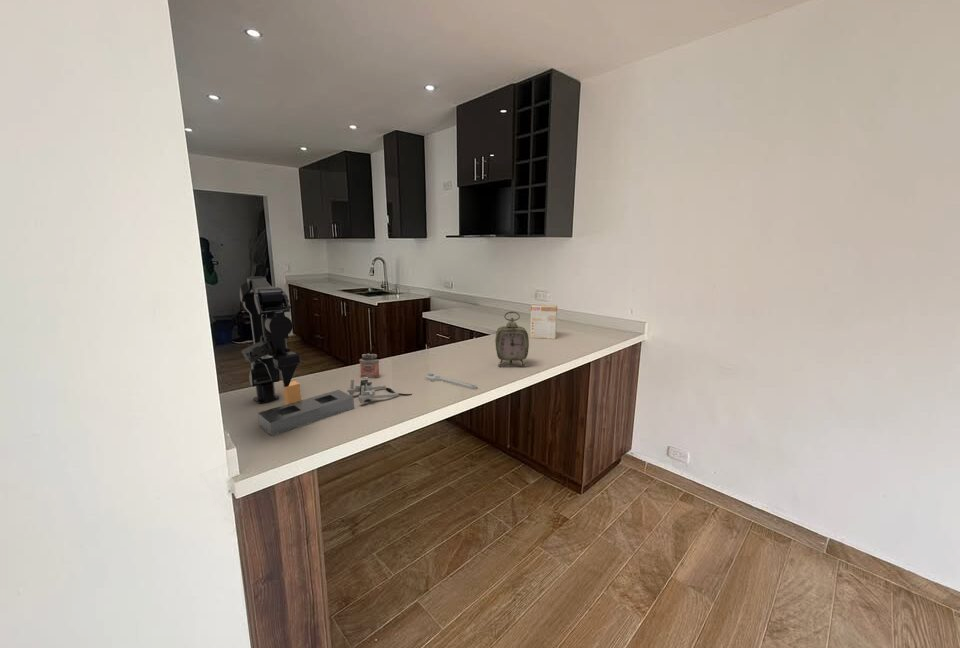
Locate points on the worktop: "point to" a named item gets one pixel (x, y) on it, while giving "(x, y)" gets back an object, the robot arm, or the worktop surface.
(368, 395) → the bike brake
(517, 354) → the tabletop clock
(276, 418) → the block with square holes
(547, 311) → the coffeecake box
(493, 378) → the worktop surface
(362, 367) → the red labelled jar
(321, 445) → the worktop surface
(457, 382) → the adjustable wrench
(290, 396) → the square peg
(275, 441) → the worktop surface
